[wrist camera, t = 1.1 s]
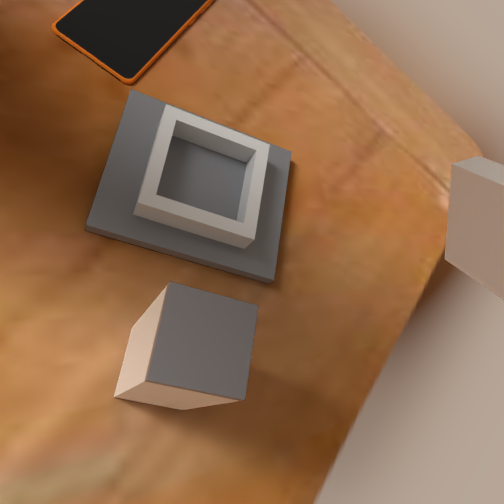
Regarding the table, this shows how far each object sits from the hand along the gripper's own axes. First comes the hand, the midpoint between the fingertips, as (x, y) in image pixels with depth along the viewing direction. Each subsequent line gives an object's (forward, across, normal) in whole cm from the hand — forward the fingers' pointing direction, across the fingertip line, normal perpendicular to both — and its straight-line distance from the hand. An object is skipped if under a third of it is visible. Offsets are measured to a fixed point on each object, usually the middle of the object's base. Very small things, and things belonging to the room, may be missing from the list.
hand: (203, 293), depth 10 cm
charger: (+16, -3, -15) cm, 22 cm away
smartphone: (+38, +5, +4) cm, 39 cm away
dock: (+25, +4, -8) cm, 27 cm away
